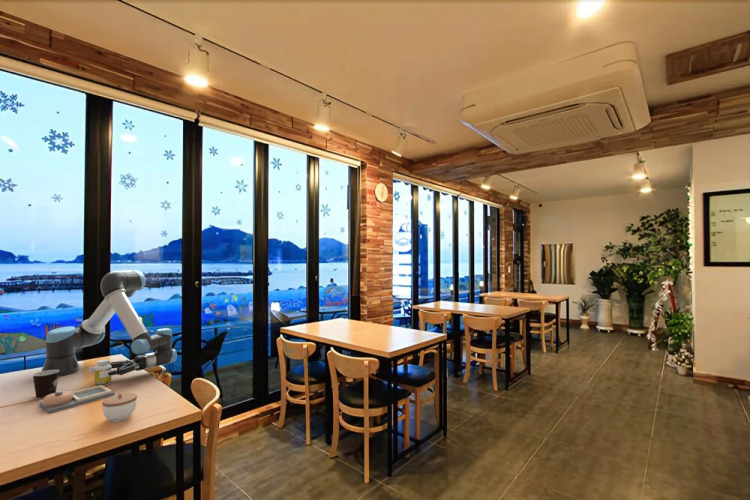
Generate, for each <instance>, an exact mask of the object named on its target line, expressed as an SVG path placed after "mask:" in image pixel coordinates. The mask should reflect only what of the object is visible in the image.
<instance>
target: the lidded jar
mask: <svg viewBox="0 0 750 500" xmlns="http://www.w3.org/2000/svg"><path fill="white" fill-rule="evenodd" d="M137 398H138V394H137V393H134V392H124V393H123V392H122V393H121V392H120V393H118V394H115V395H113V396H110V397H107V398H103V399H102V412H103V415H104V417H105V419H106V420H108V421H109V422H110V421H111V422H110V423H118V422H117V421H119V422H123V421H125V419H126V420H127V418H128V417H129V416H132V414H133V413H134V412H135V409H136V407H137ZM129 418H130V417H129ZM129 418H128V419H129ZM122 420H123V421H122Z"/></svg>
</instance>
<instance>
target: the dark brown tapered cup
mask: <svg viewBox="0 0 750 500" xmlns="http://www.w3.org/2000/svg"><path fill="white" fill-rule="evenodd" d="M32 377H33V384H34V392H35V393H34V394H35V398H37V399H44V397H45V396H47V395H49V394H52V393H56V392H57V387H58V383H59V382H58V380H59V377H60V376H59V370H47V371H42V370H40V371H38V372H35V373H33V375H32Z"/></svg>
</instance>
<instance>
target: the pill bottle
mask: <svg viewBox="0 0 750 500" xmlns="http://www.w3.org/2000/svg"><path fill="white" fill-rule="evenodd" d="M109 362H110V359H109V358H108V359H107V358H105V359H99V360H97V363H96V364H97V365H96V366H97V367H96V368H95V372H94V384H93V385H94V387H95V386H99V385H102V386H104V387H107V386H109V385H111V384H112V376H109V377H105V378H100V379H99V372H104V371H108V370H113V369H112V367H111V365H109Z"/></svg>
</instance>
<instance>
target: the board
mask: <svg viewBox="0 0 750 500" xmlns="http://www.w3.org/2000/svg"><path fill="white" fill-rule="evenodd" d="M113 395H116V393H115V392H114V391H113V390H111V389H109V388H107V386H102V385H99V386H95V385H94V386H93V387H87V388H84V389H80V390H75V391H71V390H61V391H56V393H52V394H49V395H47V396H45V397H44V398H43V400H42V401H39V404H38V405H39V407H40V408H42V409H43V410H44V411H46V412H47V413H48V414H52V413H55V412H60V411H62V410H66V409H70V408H73V407H74V408H75V407H77V406H81V405H84V404H85V405H86V404H88V403H93V402H95V401H100V400H104V399H106V398H108V397H110V396H113Z"/></svg>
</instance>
